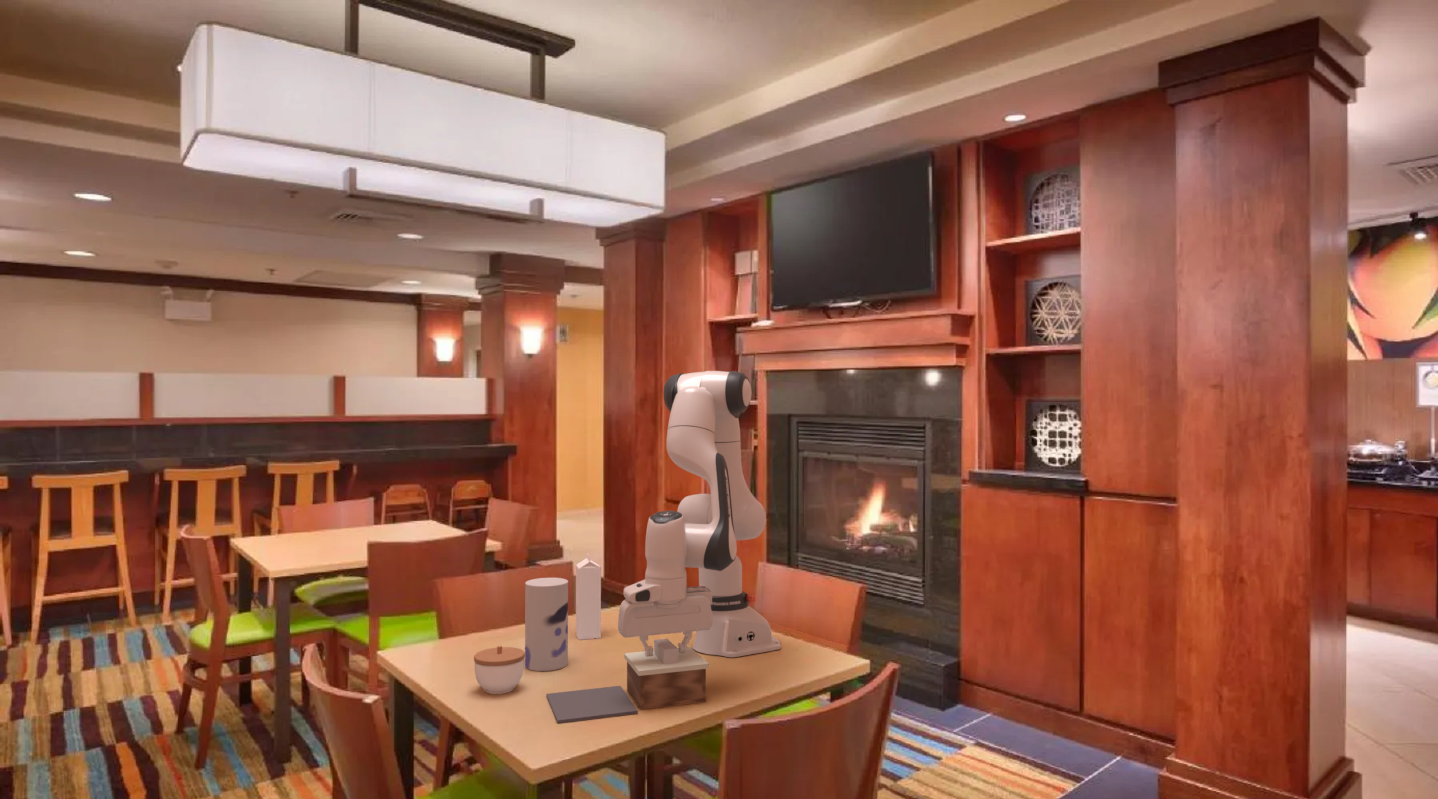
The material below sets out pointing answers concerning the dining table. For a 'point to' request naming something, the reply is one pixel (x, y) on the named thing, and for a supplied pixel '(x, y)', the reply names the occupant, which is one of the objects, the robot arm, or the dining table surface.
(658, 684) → the box
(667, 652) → the lid
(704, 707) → the dining table surface
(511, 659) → the lidded jar
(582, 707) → the mat
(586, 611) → the milk
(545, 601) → the container
